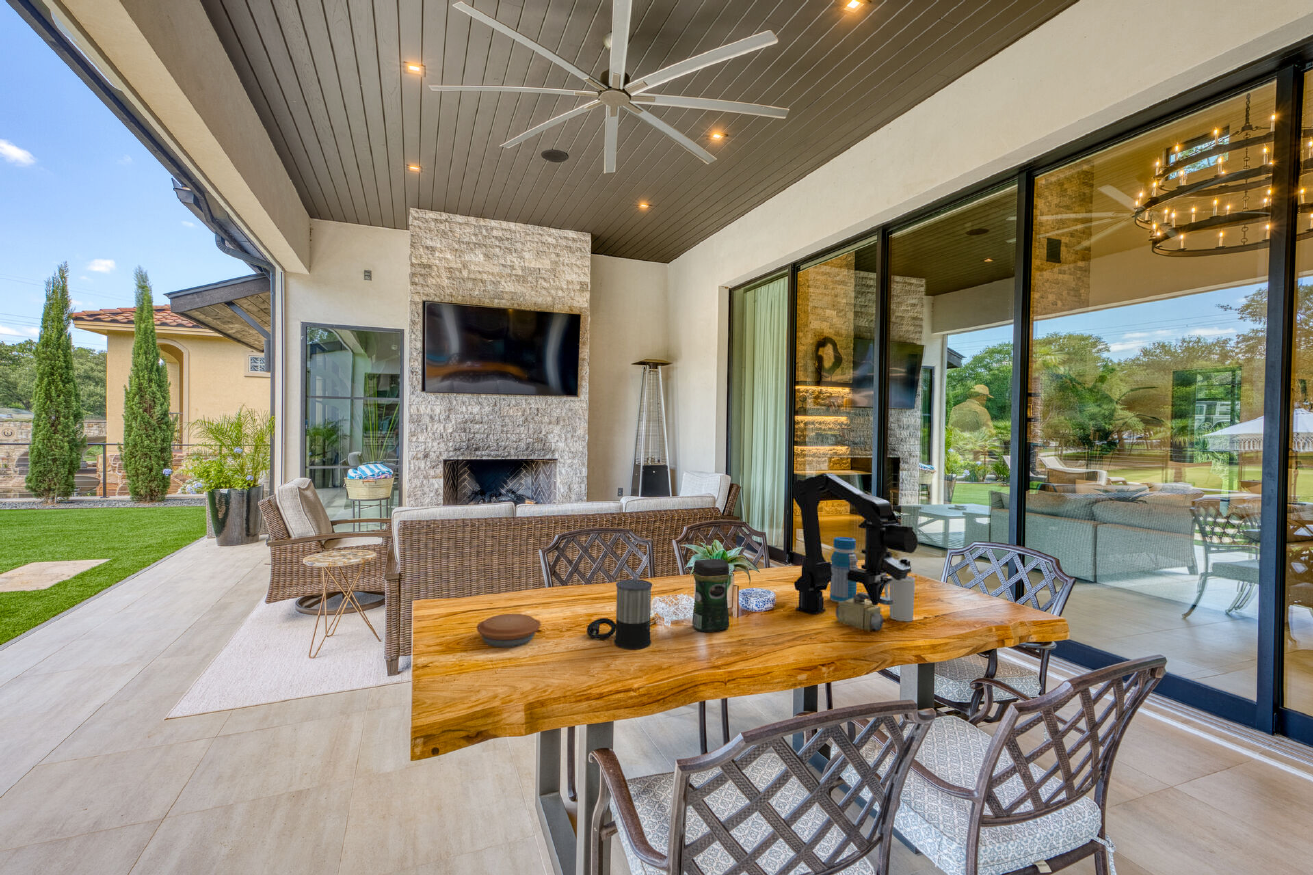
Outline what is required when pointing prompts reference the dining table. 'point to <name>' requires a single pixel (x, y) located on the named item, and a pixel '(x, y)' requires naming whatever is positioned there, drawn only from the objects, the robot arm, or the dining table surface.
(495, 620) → the pie
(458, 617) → the dining table surface
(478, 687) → the dining table surface
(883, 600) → the lever
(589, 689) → the dining table surface
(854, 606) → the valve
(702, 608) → the coffee jar
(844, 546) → the beverage bottle
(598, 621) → the milk frother
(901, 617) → the mug
